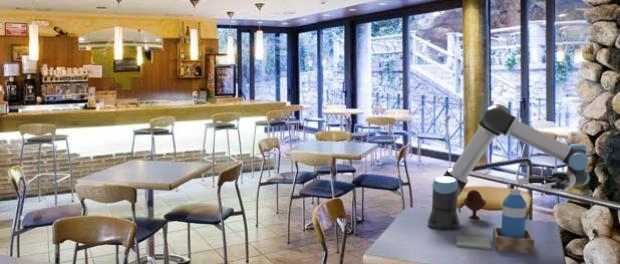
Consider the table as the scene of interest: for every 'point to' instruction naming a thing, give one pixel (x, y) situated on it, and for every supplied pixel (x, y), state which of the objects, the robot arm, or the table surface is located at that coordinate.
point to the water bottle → (513, 215)
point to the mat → (473, 242)
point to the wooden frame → (513, 242)
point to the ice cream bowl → (474, 203)
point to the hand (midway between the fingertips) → (531, 184)
